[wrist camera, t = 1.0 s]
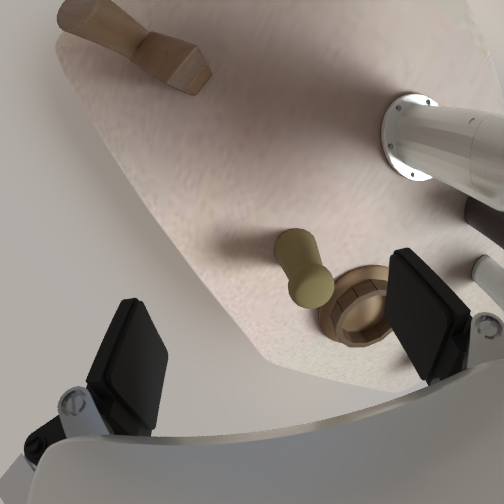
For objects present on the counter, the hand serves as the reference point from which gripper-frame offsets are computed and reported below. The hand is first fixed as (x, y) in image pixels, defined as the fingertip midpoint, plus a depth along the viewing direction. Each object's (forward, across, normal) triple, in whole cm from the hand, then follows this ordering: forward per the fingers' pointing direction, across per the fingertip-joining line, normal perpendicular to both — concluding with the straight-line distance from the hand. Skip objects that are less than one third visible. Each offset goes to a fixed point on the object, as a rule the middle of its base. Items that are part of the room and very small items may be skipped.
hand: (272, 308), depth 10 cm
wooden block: (+27, +6, -15) cm, 31 cm away
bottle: (+27, -39, +11) cm, 49 cm away
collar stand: (+26, -16, +25) cm, 40 cm away
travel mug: (+27, -45, +25) cm, 58 cm away
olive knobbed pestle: (+27, -5, +12) cm, 30 cm away
